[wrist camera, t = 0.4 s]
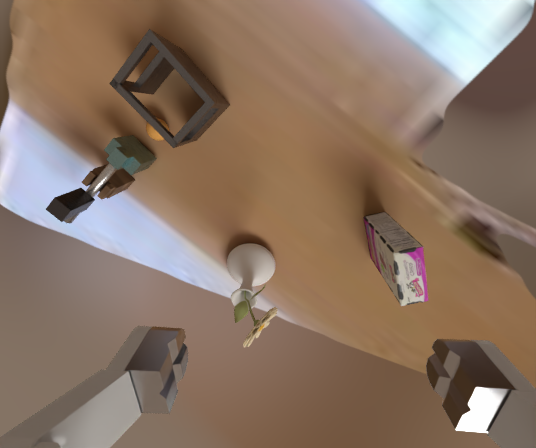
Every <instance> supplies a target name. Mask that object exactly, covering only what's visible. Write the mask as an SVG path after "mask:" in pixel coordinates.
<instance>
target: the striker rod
mask: <svg viewBox="0 0 536 448" xmlns="http://www.w3.org/2000/svg"><path fill="white" fill-rule="evenodd" d="M104 151H105V152H107V153H108V154H109V157H108V158H107V159H106V160H107V161H108V162H109V164H108V165H107V166H106V167H105V168H104V170H103V171H102V172H101V173H100V174H99V176H98V177H97V178H96V179H95V180H94V182H93V183H92V184H91V185H90V186H89V188H88V189H87V190H86V191H84V190H83V189H82V188H79V189H76V190H74V191H71V192H69V193H66V194H63V195H61V196H58V197H55V198H54V199H53V201H52V202H51V203H50V204H49V206H48V207H47V208H46V210H47V211H48V212H50V213H51V214H52V215H54V216H55V217H56V218H57V219H59V220H60V221H61V222H63V221H65V222H66V223H72V222H73V221H74V220H75V218H76V217H77V216H78V215H79V214H80V213H81V212H83V211H85V210H87V208H88V207H89V206H90V205H91V204H92V203H93V201H94V200H95V199H94V198H93V197H94V196H95V195H96V194H97V193H98V191H99V190H100V189H101V188H102V187H103V186H104V184H105V183H106V182H107V181H108V180H109V179H110V177H111V176H112V175H113V174H114V173H115V171H116V170H119V169H122V168H124V169H125V170H126V171H127V172H128V173H129V174H130V175H133V174H136V173H138V172H140V171H143V170H145V169H147V168H149V167H150V165H151V164H152V163H153V162H154V161H155V160H156V159H157V158H156V157H155V156H154V155H153V154H152V153H151V152H150V151H149V150H148V149H147V148H146V147H145V146H144V145H143V144H141V143H140V142H139V141H138V140H137V139H136V138H135V137H134V136H133V135H131V136H124V137H118V138H113V139H112V141H111V142H110V143H109V144H108V146H107V147H106V148H105V149H104Z"/></svg>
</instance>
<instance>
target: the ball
mask: <svg viewBox="0 0 536 448" xmlns="http://www.w3.org/2000/svg"><path fill="white" fill-rule="evenodd" d="M157 119H158V120H159V121H160V122H161V123H162V125H163V126H164V127H165V128H166V129H167V130H168V131H169V127H168V125H167V123H166V122H165V121H163V120H162V119H159V118H157ZM146 131H147V133H148V135H149V136H150V137H151V138H152V139H154V140H158V141H160V140H164V138H163V137H162V136H161V135H160V134H159V133H158V132H157V131H156V130H155V129H154V128H153V127H152V126H151V125H150V124H149V123H147V125H146Z"/></svg>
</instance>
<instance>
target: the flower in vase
mask: <svg viewBox="0 0 536 448" xmlns="http://www.w3.org/2000/svg"><path fill="white" fill-rule="evenodd" d="M275 266H276V265H275V259H274V257H273V255H272V254H271V253H270V251H269V250H267V249H266V248H265V247H263V246H261V245H258V244H253V243H246V244H242V245H239V246H237V247H235V248H234V249H233V250H232V251H231V252H230V254H229V255H228V258H227V268H228V271H229V273H230V275H231V277H232V278H233V279H234V280H235V281H237V282H238V283H240V284H241V287H240V288H239V289H237V290H236V291H234V292H233V294H232V295H231V301H232V303H233V305H234V306H235V309H234V311H235V312H234V315H235V323H237V322H238V321H240V320H241V319H243V318H244V317H245V316H246V315H247V314H248V311H249V310H250V313H251V316H252V318H253V321H254V328H253V329H252V330H251V332H250V333H249V334H248V336H247V338H246V339H245V341H244V343H243V347H245V346H246V345H247V347H249V346H250V344H251V343H252V341H253V339H254V337H255V336H256V338H258V336H259V335H260V333H261V330H262V329H263V328H265V327H267V326H268V325H269V323H270V322H269V320H270V319H271V318H273V317H274V316H275V315H276V314H277V313H276V312H277V308H276V307H274V308H272V309H270V310H269V311H268V312H267V313H266V314H265V315H264V316H263V317H262V318H261V319H260V320H255V318H254V316H253V313H252V310H251V308H253V307H254V306H255V305H256V303H257V297H256V295H257V294H259V293H260V292H261V291H262V290H263V289H264V288H265V286H264V287H263V289H261V290H260V291H259V292H257V293H256V294H255V293H254V292H253V290H252V286H258V285H261V284H264V283H265V282H267V281H268V280H269V279H270V278H271V277H272V275H273V274H274V271H275ZM275 308H276V309H275Z"/></svg>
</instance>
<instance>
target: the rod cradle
mask: <svg viewBox="0 0 536 448" xmlns="http://www.w3.org/2000/svg"><path fill="white" fill-rule="evenodd" d="M106 166H107V165H104V166H101V167H98V168H95V169H93V171H90V173H89V174H88V175H87V176H86V177H85V179H84V180H83V181H82V183H83V184H84V185H85V186H88V185H91V184H92V183H93V182H94V180H95V179H96V178H97V177H98V176H99V174H100V173H101V172H102V171H103V170H104V168H105V167H106ZM134 181H135V179H134V178H133V177H132V176H130V175H129V174H128V173H127V172H126V171H125V170H124V169H123V168H122V169H119V170H116V171H115V173H114V174H113V175H112V176H111V177H110V179H109V180H108V181H107V182H106V183H105V184H104V186H103V187H102V188H101V189H100V190H99V191H100V193H99V194H98V195H97V196H98V197H99V198H101V199H104V198H106V197H107V198H110V197H112V196H114V195H116V194H118V193H120V192H122V191H124V190H126V189H127V188H128V187H129V186H130V185H131V184H132V183H133V182H134Z"/></svg>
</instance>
